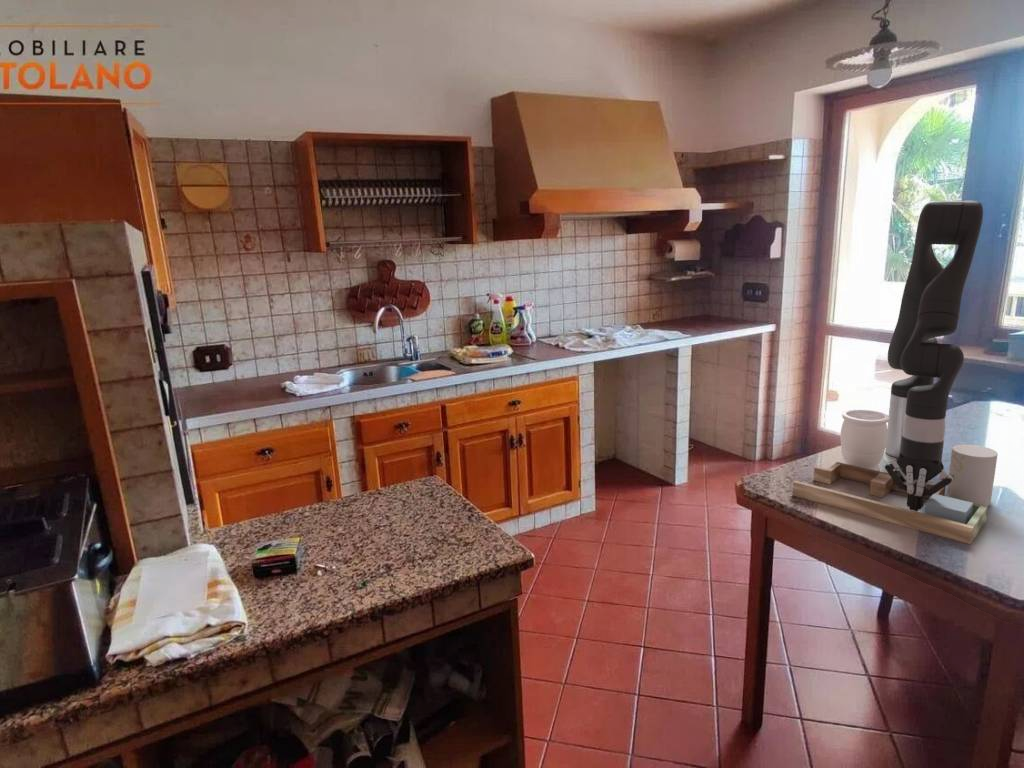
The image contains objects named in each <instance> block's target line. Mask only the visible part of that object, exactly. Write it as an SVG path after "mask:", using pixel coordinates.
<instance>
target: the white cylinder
mask: <svg viewBox="0 0 1024 768" xmlns="http://www.w3.org/2000/svg"><path fill="white" fill-rule="evenodd" d="M997 460H998V451H996V450H995V449H992V448H990V447H986V446H982V445H976V444H968V443H967V444H956V445H954V446H952V448H951V457H950V464H949V471H948V474H949V475H953V476H954V480H953V481H952V482H951V483H950V484H948V485H947V486H946V487H947V489H946V495H945V496H947V497H951V498H955V499H960V500H964V501H968V502H972V503H977V504H981V505H985V506H988V507H989V506H991V504H992V503H991V502H992V498H993V497H992V496H993V495H992V494H993V489H994V482H995V481H994V480H995V475H996V468H997Z"/></svg>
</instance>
